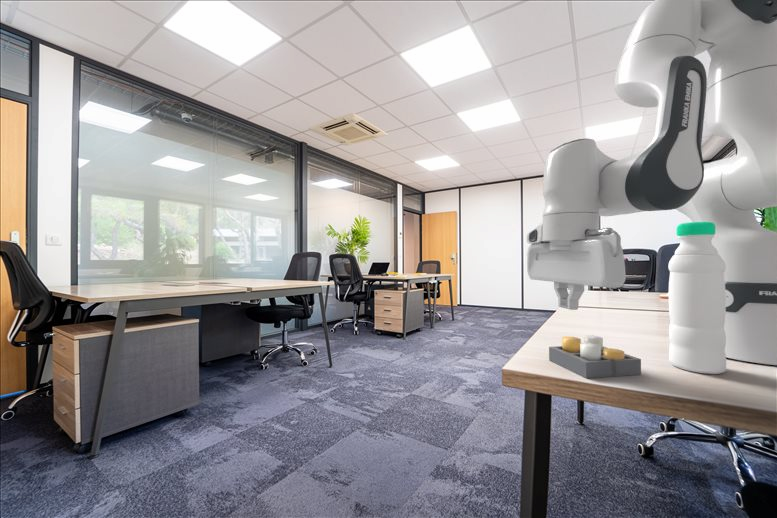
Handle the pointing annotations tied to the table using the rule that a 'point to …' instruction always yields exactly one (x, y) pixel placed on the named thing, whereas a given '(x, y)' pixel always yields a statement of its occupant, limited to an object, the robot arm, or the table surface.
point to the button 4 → (613, 353)
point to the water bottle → (697, 301)
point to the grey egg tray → (595, 364)
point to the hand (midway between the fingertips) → (568, 308)
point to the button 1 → (571, 344)
